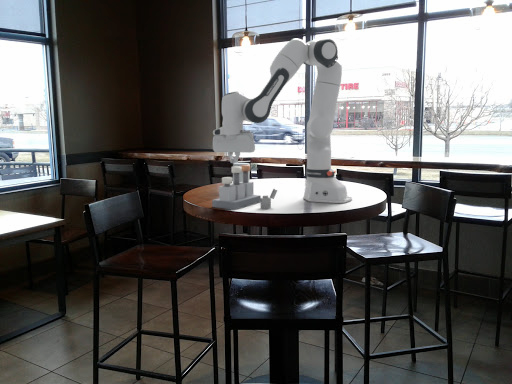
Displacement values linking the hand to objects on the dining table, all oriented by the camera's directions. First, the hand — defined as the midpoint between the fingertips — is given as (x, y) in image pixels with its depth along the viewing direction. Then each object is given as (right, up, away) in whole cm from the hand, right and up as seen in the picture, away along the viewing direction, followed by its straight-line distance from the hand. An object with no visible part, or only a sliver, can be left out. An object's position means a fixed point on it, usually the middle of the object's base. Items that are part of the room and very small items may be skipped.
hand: (234, 162), depth 192 cm
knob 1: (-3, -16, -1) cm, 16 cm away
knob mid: (+1, -11, +4) cm, 12 cm away
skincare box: (+2, -12, +42) cm, 44 cm away
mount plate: (+1, -18, +5) cm, 19 cm away
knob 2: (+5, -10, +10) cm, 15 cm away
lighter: (+15, -20, -3) cm, 25 cm away
